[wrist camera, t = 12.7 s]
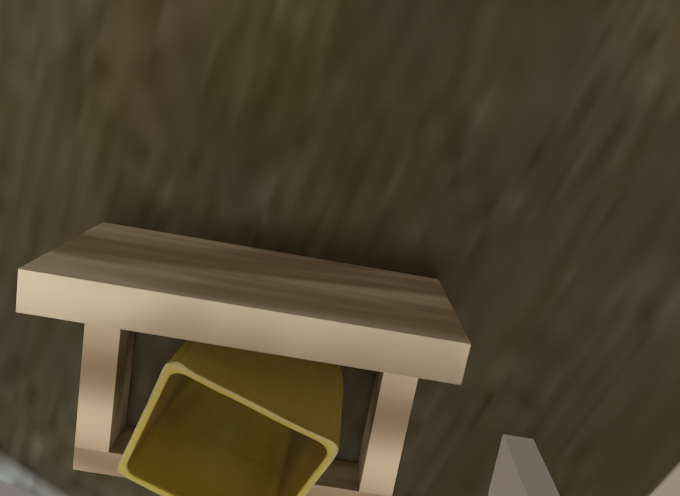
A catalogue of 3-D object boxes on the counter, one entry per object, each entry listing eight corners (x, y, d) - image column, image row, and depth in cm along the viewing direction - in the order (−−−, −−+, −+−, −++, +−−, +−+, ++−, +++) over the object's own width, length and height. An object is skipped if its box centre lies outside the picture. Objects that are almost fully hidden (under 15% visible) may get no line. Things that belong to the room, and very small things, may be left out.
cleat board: (103, 222, 37) (18, 268, 27) (438, 278, 38) (470, 344, 28) (84, 440, 41) (2, 551, 31) (391, 489, 41) (406, 611, 32)
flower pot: (179, 361, 40) (111, 475, 32) (229, 258, 35) (165, 361, 28) (303, 422, 41) (267, 547, 33) (367, 329, 36) (343, 448, 28)
